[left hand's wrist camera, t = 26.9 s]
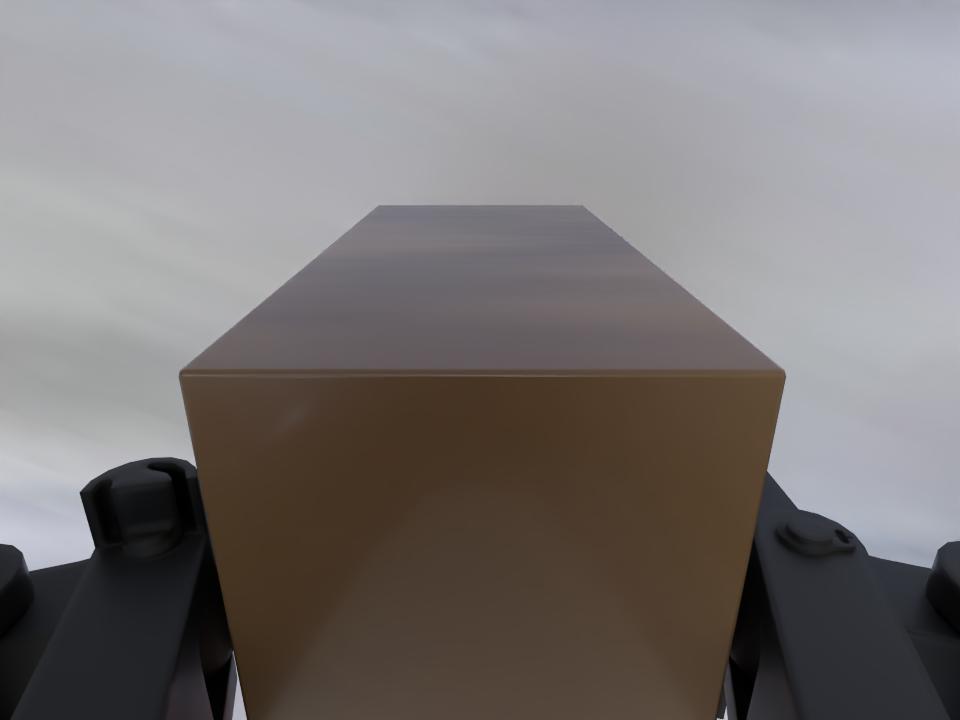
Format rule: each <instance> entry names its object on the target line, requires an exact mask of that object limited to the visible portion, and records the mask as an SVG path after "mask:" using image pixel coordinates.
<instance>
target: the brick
mask: <svg viewBox="0 0 960 720" xmlns="http://www.w3.org/2000/svg"><path fill="white" fill-rule="evenodd" d="M785 379H786V375H785V371H784V370H783V369H782V368H781V367H779V366H778V365H777V364H776V363H775V362H773V361H772V360H771V359H770V358H768V357H767V356H766V355H765V354H764V353H762V352H761V351H760V350H759V349H757V348H756V347H755V346H754V345H753V344H751V343H750V342H749V341H748V340H746V339H745V338H744V337H743V336H742V335H740V334H739V333H738V332H737V331H735V330H734V329H733V328H732V327H731V326H729V325H728V324H727V323H726V322H724V321H723V320H722V319H721V318H719V317H718V316H717V315H716V314H715V313H713V312H712V311H711V310H710V309H708V308H707V307H706V306H705V305H704V304H702V303H701V302H700V301H699V300H697V299H696V298H695V297H694V296H693V295H691V294H690V293H689V292H688V291H686V290H685V289H684V288H683V287H682V286H680V285H679V284H678V283H677V282H675V281H674V280H673V279H672V278H671V277H669V276H668V275H667V274H666V273H664V272H663V271H662V270H661V269H660V268H658V267H657V266H656V265H655V264H653V263H652V262H651V261H650V260H649V259H647V258H646V257H645V256H644V255H642V254H641V253H640V252H639V251H637V250H636V249H635V248H634V247H633V246H631V245H630V244H629V243H628V242H626V241H625V240H624V239H623V238H622V237H620V236H619V235H618V234H617V233H615V232H614V231H613V230H612V229H611V228H609V227H608V226H607V225H606V224H604V223H603V222H602V221H601V220H600V219H598V218H597V217H596V216H595V215H593V214H592V213H591V212H590V211H589V210H587V209H586V208H585V207H584V206H378V207H376V208H375V209H374V210H373V211H372V212H370V213H369V214H368V215H367V216H366V217H364V218H363V219H362V220H361V221H360V222H358V223H357V224H356V225H355V226H354V227H352V228H351V229H350V230H349V231H348V232H346V233H345V234H344V235H343V236H342V237H340V238H339V239H338V240H337V241H336V242H334V243H333V244H332V245H331V246H330V247H328V248H327V249H326V250H325V251H324V252H322V253H321V254H320V255H319V256H317V257H316V258H315V259H314V260H313V261H311V262H310V263H309V264H308V265H307V266H305V267H304V268H303V269H302V270H301V271H299V272H298V273H297V274H296V275H295V276H293V277H292V278H291V279H290V280H289V281H287V282H286V283H285V284H284V285H283V286H281V287H280V288H279V289H278V290H277V291H275V292H274V293H273V294H272V295H271V296H269V297H268V298H267V299H266V300H265V301H263V302H262V303H261V304H260V305H259V306H257V307H256V308H255V309H254V310H253V311H251V312H250V313H249V314H248V315H247V316H245V317H244V318H243V319H242V320H241V321H239V322H238V323H237V324H236V325H235V326H233V327H232V328H231V329H230V330H229V331H227V332H226V333H225V334H224V335H222V336H221V337H220V338H219V339H218V340H216V341H215V342H214V343H213V344H212V345H210V346H209V347H208V348H207V349H206V350H204V351H203V352H202V353H201V354H200V355H198V356H197V357H196V358H195V359H194V360H192V361H191V362H190V363H189V364H188V365H186V366H185V367H184V368H183V369H182V370H180V373H179V380H180V385H181V390H182V395H183V400H184V405H185V410H186V415H187V420H188V425H189V431H190V436H191V441H192V446H193V451H194V456H195V461H196V466H197V471H198V476H199V481H200V486H201V491H202V496H203V501H204V506H205V511H206V516H207V521H208V526H209V531H210V536H211V541H212V546H213V551H214V556H215V561H216V566H217V571H218V576H219V581H220V586H221V591H222V596H223V601H224V606H225V611H226V616H227V621H228V626H229V631H230V636H231V641H232V646H233V651H234V656H235V661H236V666H237V671H238V676H239V681H240V687H241V692H242V697H243V702H244V707H245V712H246V717H247V720H717V715H718V710H719V705H720V700H721V695H722V690H723V685H724V680H725V675H726V670H727V665H728V660H729V655H730V650H731V646H732V641H733V636H734V631H735V626H736V621H737V616H738V611H739V606H740V601H741V596H742V591H743V586H744V581H745V576H746V571H747V566H748V562H749V557H750V552H751V547H752V542H753V537H754V532H755V527H756V522H757V517H758V512H759V507H760V502H761V497H762V492H763V487H764V482H765V478H766V473H767V468H768V463H769V458H770V453H771V448H772V443H773V438H774V433H775V428H776V423H777V418H778V413H779V408H780V403H781V398H782V394H783V389H784V384H785Z"/></svg>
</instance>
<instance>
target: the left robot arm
mask: <svg viewBox="0 0 960 720" xmlns="http://www.w3.org/2000/svg"><path fill="white" fill-rule="evenodd" d="M80 496H81V499H82V503H83V506H84V510H85V513H86V517H87V520H88V524H89V527H90V531H91V534H92V538H93V541H94V544H95V550H94V552H93V554H92V556H91V558H90V559H86V560H83V561H79V562H74V563H69V564H64V565H59V566H54V567H49V568H44V569H39V570H34V571H28V568H27V565H26V562H25V559H24V556H23V553H22V552H21V551H19V550H18V549H17V548H16V547H14V546H13V545H5V544H0V720H232V716H233V708H234V700H235V692H236V684H237V673H236V666H235V661H234V656H233V646H232V641H231V636H230V631H229V626H228V621H227V616H226V611H225V606H224V601H223V596H222V591H221V586H220V581H219V576H218V571H217V566H216V561H215V556H214V551H213V546H212V541H211V536H210V531H209V526H208V521H207V516H206V511H205V506H204V501H203V496H202V491H201V486H200V481H199V476H198V471H197V469H196V467H195V466H193V465H192V464H191V463H189V462H188V461H186V460H182V459H177V458H172V457H167V458H149V459H144V460H139V461H135V462H130V463H127V464H124V465H122V466H119V467H116V468H114V469H111V470H108V471H107V472H105V473H103V474H102V475H100V476H98V477H96V478H95V479H93V480H91V481H90V482H89V483H88V484H87V485H86V486H85V487H84V488H83V489H82V490H81V492H80ZM726 706H727V714H728V720H960V541H956V542H948V543H946V544H945V545H944V546H942V547H941V548H940V549H939V550H938V552H937V555H936V558H935V560H934V563H933V566H932V569H930V568H925V567H920V566H915V565H910V564H905V563H900V562H895V561H890V560H885V559H880V558H876V557H873V556H869V555H868V553H867V551H866V549H865V547H864V546H863V544H862V543H861V542H860V541H859V539H858V538H857V537H856V536H855V534H853V533H852V532H850V531H849V530H848V529H846V528H845V527H843V526H842V525H840V524H839V523H837V522H835V521H833V520H830V519H828V518H826V517H823V516H821V515H819V514H816V513H811V512H807V511H803V510H799V509H798V508H797V507H796V506H795V505H794V503H793V502H792V501H791V500H790V499H789V497H788V496H787V495H786V494H785V492H784V491H783V490H782V489H781V488H780V486H779V485H778V484H777V483H776V481H775V480H774V479H773V478H772V477H771V475H770V474H769V473H768V472H767V473H766V478H765V482H764V487H763V492H762V497H761V502H760V507H759V512H758V517H757V522H756V527H755V532H754V537H753V542H752V547H751V552H750V557H749V562H748V566H747V571H746V576H745V581H744V586H743V591H742V596H741V601H740V606H739V611H738V616H737V621H736V626H735V631H734V636H733V641H732V646H731V650H730V655H729V660H728V665H727V670H726V675H725V680H724V685H723V690H722V695H721V700H720V705H719V710H718V715H717V718H719V719H724V714H725V709H726Z"/></svg>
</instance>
